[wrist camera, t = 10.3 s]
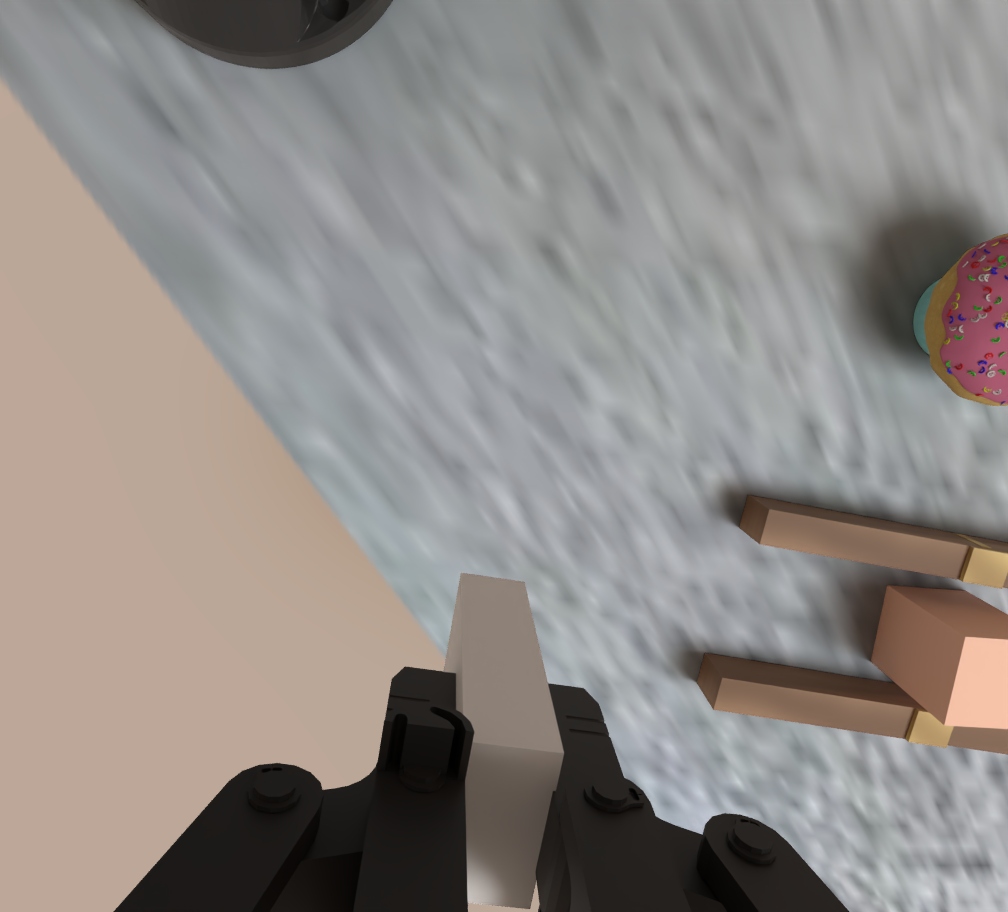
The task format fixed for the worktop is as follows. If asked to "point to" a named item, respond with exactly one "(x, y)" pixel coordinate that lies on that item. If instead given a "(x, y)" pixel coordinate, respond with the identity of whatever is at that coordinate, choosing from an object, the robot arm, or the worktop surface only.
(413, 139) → the worktop surface
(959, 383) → the cupcake
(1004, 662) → the block
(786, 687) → the slotted beam
